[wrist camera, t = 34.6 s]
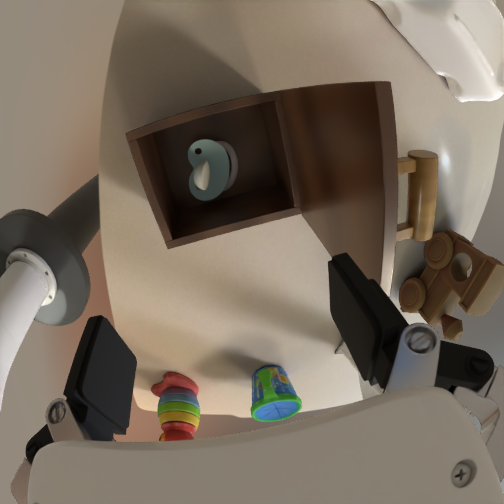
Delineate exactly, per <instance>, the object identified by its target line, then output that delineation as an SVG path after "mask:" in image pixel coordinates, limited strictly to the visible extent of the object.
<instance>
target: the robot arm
mask: <svg viewBox="0 0 504 504" xmlns="http://www.w3.org/2000/svg"><path fill="white" fill-rule="evenodd" d="M328 271H329V290H330V311H331V315H332V318H333V320H334V322H335V324H336V326H337V328H338V330H339V332H340V334H341V336H342V338H343V340H344V342H345V344H346V346H347V348H348V350H349V352H350V354H351V356H352V358H353V360H354V362H355V364H356V366H357V368H358V370H359V372H360V374H361V377H362V379H363V380H364V381H367V380H368V381H369V383H370V385H371V386H373V385H376V384H379V386H380V388H381V389H384V390H383V393H382V394H380V395H376V396H373V397H371V398H368V399H365V400H362V401H359V402H355V403H353V404H350V405H347V406H344V407H341V408H338V409H335V410H332V411H329V412H325V413H322V414H319V415H316V416H312V417H309V418H305V419H301V420H298V421H294V422H290V423H286V424H282V425H278V426H273V427H269V428H264V429H260V430H254V431H249V432H244V433H238V434H232V435H225V436H218V437H210V438H202V439H192V440H180V441H162V442H116V440H115V439H114V437H113V433H115V434H122V435H126V428H128V427H129V419H130V411H131V402H132V394H133V386H134V379H135V372H136V366H137V360H136V357H135V355H134V354H133V353H132V351H131V350H130V349H129V348H128V346H127V345H126V344H125V342H124V341H123V340H122V339H121V337H120V336H119V335H118V333H117V332H116V330H115V329H114V328H113V326H112V325H111V324H110V322H109V321H108V319H107V318H104V317H103V316H102V315H99V316H94V317H90V318H89V319H88V321H87V324H86V326H85V329H84V332H83V335H82V337H81V340H80V342H79V346H78V348H77V351H76V354H75V357H74V360H73V363H72V366H71V370H70V373H69V376H68V379H67V383H66V386H65V390H64V393H63V394H64V395H65V396H66V397H67V399H66V400H64V399H62V398H58V399H55V400H54V401H52V402H51V403H50V405H49V406H48V408H47V411H46V422H47V424H46V425H45V426H44V427H43V428H42V429H41V430H40V431H39V432H38V433H37V434H35V435H34V436H33V437H32V438H31V439H30V440H29V442H28V443H27V446H26V457H27V459H26V458H24V460H23V461H22V463H21V465H20V466H19V468H18V470H17V472H16V474H15V476H14V478H13V480H12V482H11V492H12V494H13V496H14V498H15V499H16V501H17V502H18V503H19V504H504V493H503V490H502V487H501V481H502V479H503V477H504V367H502V366H499V367H498V368H497V367H496V366H494V362H493V360H492V358H491V356H490V355H489V354H488V353H487V352H485V351H483V350H481V349H476V348H472V347H467V346H463V345H458V344H454V343H450V342H446V341H441V340H440V336H439V334H438V332H437V331H436V330H435V328H433V327H432V326H430V325H428V324H425V323H414V324H411V325H409V324H408V323H407V321H406V320H405V319H404V317H403V316H402V314H401V313H400V312H399V310H398V309H397V308H396V306H395V305H394V304H393V302H392V301H391V300H390V298H389V297H388V296H387V294H386V293H385V292H384V291H383V289H382V288H381V287H380V285H379V284H378V283H377V282H376V281H375V280H374V279H369V280H368V279H367V277H366V276H365V275H364V273H363V272H362V271H361V270H360V268H359V267H358V266H357V264H356V263H355V262H354V261H353V259H352V258H351V257H350V256H349V254H348V253H346V252H345V253H341V254H338V255H334V256H332V260H331V261H328ZM56 293H57V283H56V279H55V277H54V274H53V272H52V270H51V269H50V267H49V266H48V264H47V263H46V262H45V261H44V260H43V259H42V258H41V257H40V256H39V255H38V254H36V253H35V252H33V251H31V250H29V249H25V248H18V249H15V250H14V251H12V252H11V254H10V255H9V256H8V258H7V261H6V271H5V273H4V274H3V275H2V276H1V278H0V411H1V405H2V398H3V392H4V387H5V383H6V379H7V376H8V373H9V370H10V367H11V365H12V362H13V360H14V358H15V355H16V353H17V351H18V349H19V347H20V345H21V343H22V341H23V339H24V337H25V335H26V332H27V331H28V328H29V327H30V325H31V323H32V321H33V319H34V317H35V315H36V314H37V312H38V310H39V308H40V307H41V306H44V305H48V304H50V303H51V302H52V301H53V299H54V298H55V296H56ZM464 407H465V408H467V409H468V410H470V411H471V413H470V414H472V415H473V416H475V417H476V418H477V419H478V420H479V421H480V424H481V432H480V433H479V431H478V429H477V427H476V425H475V423H474V422H473V420H472V419H471V417H470V415H469V414H468V412H467V411H466V409H465V408H464Z"/></svg>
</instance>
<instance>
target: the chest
mask: <svg viewBox="0 0 504 504" xmlns="http://www.w3.org/2000/svg"><path fill="white" fill-rule="evenodd" d="M126 137H127V141H128V143H129V146H130V150H131V153H132V156H133V159H134V162H135V164H136V167H137V170H138V173H139V176H140V179H141V182H142V184H143V187H144V190H145V193H146V195H147V198H148V201H149V203H150V206H151V208H152V211H153V214H154V216H155V219H156V221H157V224H158V226H159V229H160V231H161V234H162V236H163V238H164V241H165V244H166V246H167V248H168V249H171V248H174V247H178V246H181V245H185V244H188V243H192V242H196V241H199V240H203V239H206V238H210V237H214V236H217V235H221V234H225V233H229V232H232V231H236V230H240V229H244V228H247V227H251V226H255V225H259V224H263V223H267V222H270V221H274V220H278V219H282V218H286V217H290V216H294V215H298V214H302V211H301V204H300V197H299V191H298V185H297V178H296V172H295V167H294V161H293V155H292V150H291V144H290V139H289V133H288V128H287V123H286V118H285V113H284V108H283V104H282V99H281V94H280V91H274V92H268V93H262V94H257V95H252V96H247V97H242V98H237V99H233V100H229V101H224V102H220V103H216V104H212V105H209V106H205V107H201V108H198V109H194V110H191V111H187V112H184V113H181V114H178V115H175V116H171V117H168V118H165V119H162V120H160V121H157V122H154V123H151V124H148V125H146V126H143V127H140V128H138V129H135V130H132V131H130V132H127V133H126ZM202 139H208V140H213V141H215V142H216V141H220V140H221V141H226V142H227V143H229V144H230V145H231V146H232V147H233V148H234V150H235V152H236V155H237V158H238V173H237V176H236V179H235V181H234V183H233V185H232V186H231V187H230V188H229V189H227V190H225V191H222V193H221V194H220V195H218V196H217V197H215V198H214V199H211V200H207V201H203V200H199V199H197V198H196V197H195V196H193V194H192V193H191V191H190V188H189V178H190V175H191V173H192V171H193V166H192V165H191V163H190V162H189V159H188V150H189V148H190V146H191V145H192V144H193V143H194V142H196V141H198V140H202ZM225 151H226V150H225ZM195 153H196V154H201V153H202V150H201V149H200V148H197V149H195ZM226 153H227V155H228V159H229V175H230V172H231V159H230V156H229V154H228V152H227V151H226ZM196 188H197V189H198V190H200V188H198V187H197V186H196Z"/></svg>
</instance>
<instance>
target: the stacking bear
mask: <svg viewBox="0 0 504 504" xmlns="http://www.w3.org/2000/svg"><path fill="white" fill-rule="evenodd" d="M163 377H164V380H163V382H162V383H160V384H156V385H153V387H151V391H152V392H153V394H154V395H156V396H158V397H160V400H159V403H158V417H159V421H160V425H161V428H162V430H163V431H164V433H162V434H161V436H160V438H159V442H162V441H180V440H192V439H194V438H193V436H192V434H194V432H195V431H196V429H197V428H198V425H199V419H200V406H199V403H198V400H197V397H196V396H197V394H198V386H197V385H196V384H195V383H194V382H193V381H192V380H190V379H189V378H187V377H185V376H183V375H180V374H177V373H173V372H172V373H166V374H165V375H164V376H163Z"/></svg>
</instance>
